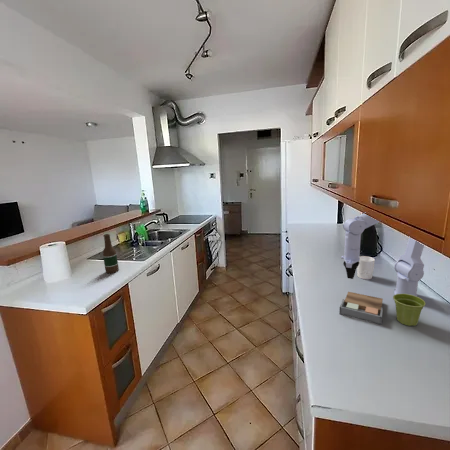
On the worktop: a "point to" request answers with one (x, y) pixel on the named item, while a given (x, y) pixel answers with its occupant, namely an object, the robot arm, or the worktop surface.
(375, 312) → the tile terracotta
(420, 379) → the worktop surface
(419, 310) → the plant pot
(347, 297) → the board
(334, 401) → the worktop surface
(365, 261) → the white cup
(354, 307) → the tile sage
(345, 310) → the tray
